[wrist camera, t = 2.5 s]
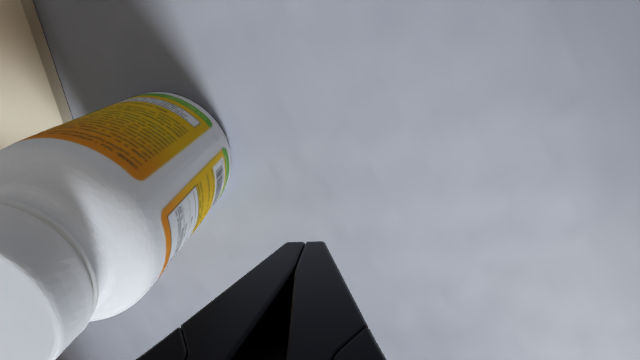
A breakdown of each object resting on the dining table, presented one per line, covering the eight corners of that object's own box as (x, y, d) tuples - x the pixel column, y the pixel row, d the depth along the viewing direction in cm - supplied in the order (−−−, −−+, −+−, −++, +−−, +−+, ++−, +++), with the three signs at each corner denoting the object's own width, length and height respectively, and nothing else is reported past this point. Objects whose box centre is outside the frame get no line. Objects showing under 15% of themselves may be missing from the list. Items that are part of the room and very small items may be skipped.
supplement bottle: (86, 118, 17) (-224, 243, 8) (194, 68, 16) (-34, 149, 7) (154, 224, 19) (-38, 422, 10) (256, 186, 17) (142, 376, 8)
